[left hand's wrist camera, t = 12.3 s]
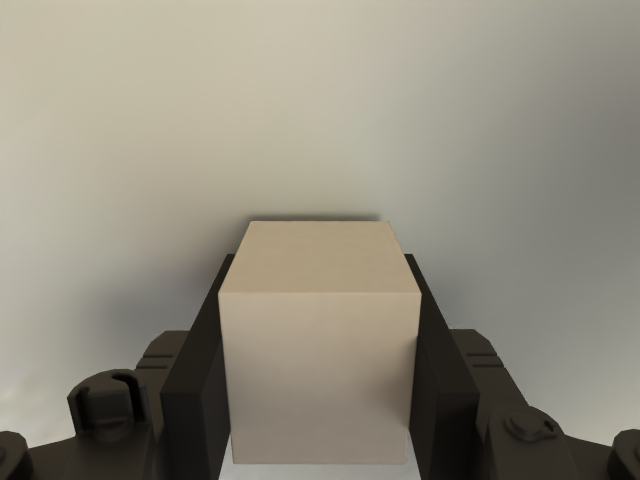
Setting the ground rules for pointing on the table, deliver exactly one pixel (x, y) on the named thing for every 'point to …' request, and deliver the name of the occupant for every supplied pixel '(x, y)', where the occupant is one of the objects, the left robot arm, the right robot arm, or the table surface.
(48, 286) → the table surface
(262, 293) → the block
